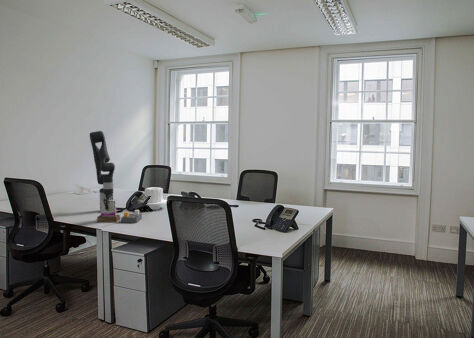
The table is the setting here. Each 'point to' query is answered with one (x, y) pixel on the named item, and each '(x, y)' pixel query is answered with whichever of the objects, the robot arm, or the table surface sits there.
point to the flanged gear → (155, 197)
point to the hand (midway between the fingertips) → (108, 208)
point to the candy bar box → (110, 211)
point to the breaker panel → (131, 218)
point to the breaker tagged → (126, 214)
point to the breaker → (136, 212)
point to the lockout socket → (108, 219)
